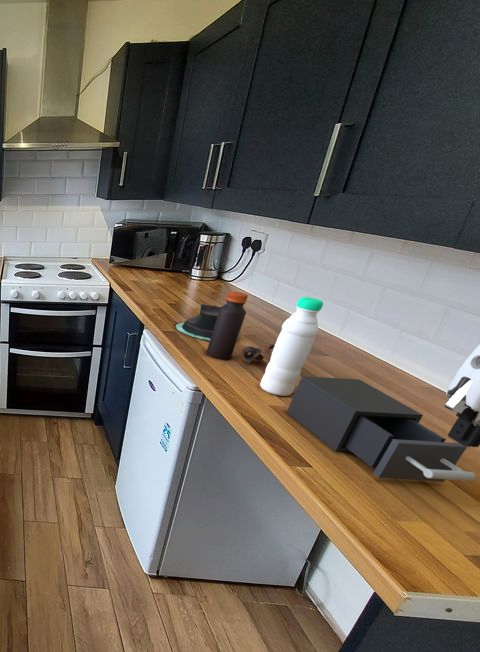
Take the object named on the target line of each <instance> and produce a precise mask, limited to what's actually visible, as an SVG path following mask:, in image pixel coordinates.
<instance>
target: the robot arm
mask: <svg viewBox="0 0 480 652" xmlns="http://www.w3.org/2000/svg"><path fill="white" fill-rule="evenodd" d="M445 395H446V397H447V398H448V400H447V401H446V402H445V403H444V408H446V409H447V410H450V411H452V412H454V413H455V416H456V417H457V419H456V420H455V422H454V423H453V425H452V426H451V428H450V430H449V432H448V434H447V436H448V438H449V439H451V440H453V441H455V442H456V443H460V444H462V445H464V446H466V447H467V448H470V447H472V448H479V447H480V343H479V344H478V345H477V346H476V347H475V349H474V350H473V351H472V352H471V353H470V354H469V356H468V357H467V358H466V359H465V361H464V362H463V363H462V364H461V366H460V367H459V368H458V370H457V372H456V373H455V375H454V376H453V378H452V380H451V381H450V383H449V385H448V387H447V389H446V393H445Z"/></svg>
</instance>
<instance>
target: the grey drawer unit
mask: <svg viewBox="0 0 480 652" xmlns="http://www.w3.org/2000/svg"><path fill="white" fill-rule="evenodd" d="M286 414H288V415H289V416H290V417H292V418H293V419H294V420H295V421H297V422H298V423H299V424H300V425H302V426H303V427H304V428H305V429H306V430H308V431H309V432H310V433H311V434H313V435H314V436H315V437H316V438H318V439H319V440H320V441H321V442H323V443H324V444H325V445H327V446H328V447H329V448H330V449H332V450H333V451H334V452H337V453H338V452H340V453H352V452H351V451H350V450H349V449H347V448H346V447H345V446H343V444H344V442H345V440H346V438H347V436H348V435H349V433H350V431H351V429H352V427H353V425H354V423H355V421H356V419H357V417H358V415H367V416H384V417H401V418H411V419H412V420H414V421H416V422H417V423H419V424H420V421H421V420H422V418H423V417H424V414H422V413H421V412H419V411H417V410H415V409H413V408H411V407H410V406H408V405H406V404H405V403H402V402H401V401H400V400H397V399H396V398H394V397H392V396H390V395H389V394H387V393H385V392H383V391H381V390H379V389H378V388H375V387H374V386H373V385H371V384H368V383H366V382H365V381H363V380H361V379H359V378H358V379H357V378H342V377H341V378H340V377H325V376H324V377H321V376H308V375H307V376H305V375H302V376H301V377H300V380H299V382H298V385H297V387H296V389H295V391H294V394H293V395H292V398H291V401H290V403H289V405H288V408H287V411H286Z"/></svg>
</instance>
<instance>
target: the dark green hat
mask: <svg viewBox="0 0 480 652" xmlns="http://www.w3.org/2000/svg"><path fill="white" fill-rule="evenodd" d="M221 307H222V306H217V305H212V304H205V303H201V304H199V314H198V315H195V316H193V317H190V318H188V319H187V320H185V321H184V322H180V323H177V324H176V325H175V328H176V330H177V331H178V332H179V333H183V334H184V335H187V336H189V337H191V338H192V337H193V338H196V339H198V340H199V339H200V340H205V341H210V339H211V335H212V332H213V329H214V326H215V322H216V319H217V316H218V313H219V310H220V308H221ZM239 338H240V335H238V338H237V340H239Z"/></svg>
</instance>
